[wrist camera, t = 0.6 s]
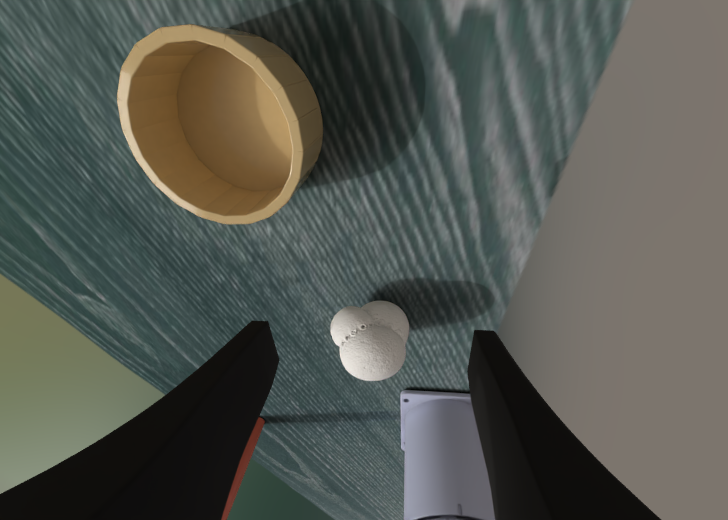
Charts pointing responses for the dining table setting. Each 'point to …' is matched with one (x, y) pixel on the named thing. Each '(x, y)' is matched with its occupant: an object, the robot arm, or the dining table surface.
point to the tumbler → (219, 120)
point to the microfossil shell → (371, 339)
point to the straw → (243, 466)
